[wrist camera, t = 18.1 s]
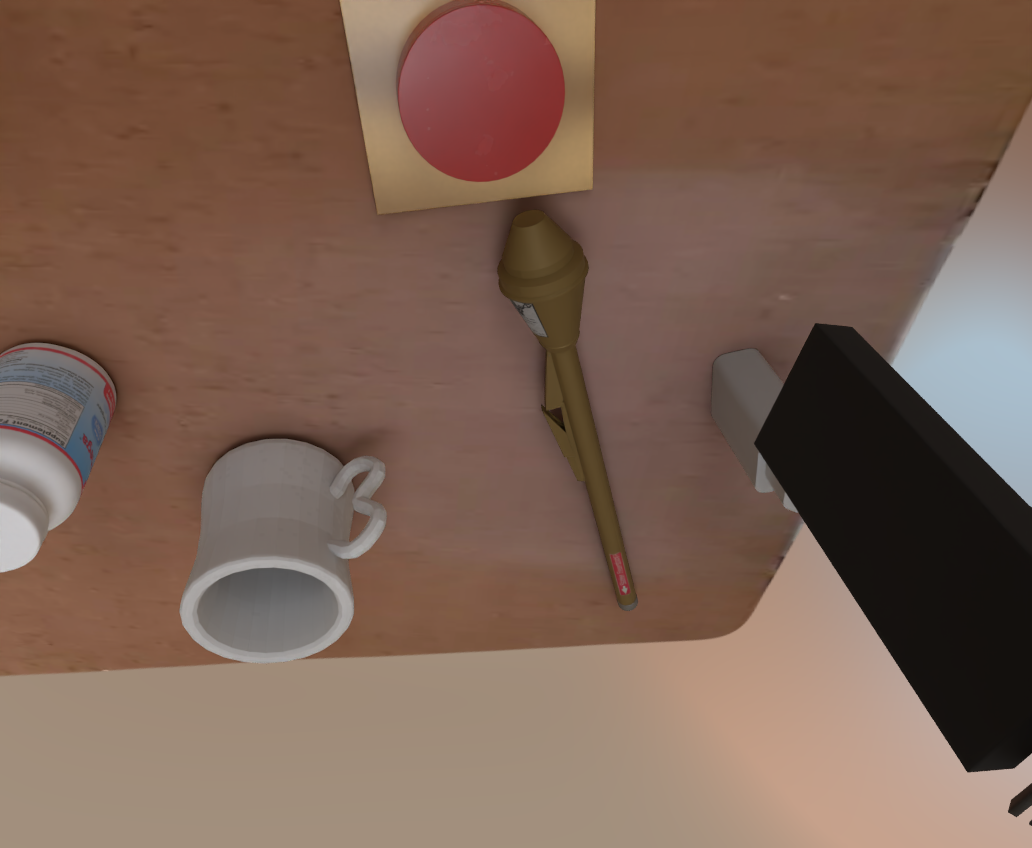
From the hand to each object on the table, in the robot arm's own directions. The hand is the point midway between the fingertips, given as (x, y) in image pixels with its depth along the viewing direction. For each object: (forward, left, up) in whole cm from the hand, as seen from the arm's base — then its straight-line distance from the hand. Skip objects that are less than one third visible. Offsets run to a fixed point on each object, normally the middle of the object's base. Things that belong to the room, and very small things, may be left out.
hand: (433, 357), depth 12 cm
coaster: (+3, +4, -26) cm, 27 cm away
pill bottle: (+16, -20, -27) cm, 37 cm away
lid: (+3, +4, -25) cm, 25 cm away
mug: (+25, -9, -27) cm, 38 cm away
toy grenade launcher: (+26, +9, -27) cm, 38 cm away
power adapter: (+23, +19, -27) cm, 40 cm away
